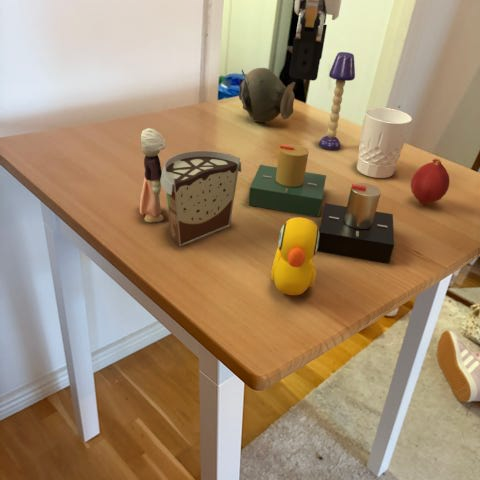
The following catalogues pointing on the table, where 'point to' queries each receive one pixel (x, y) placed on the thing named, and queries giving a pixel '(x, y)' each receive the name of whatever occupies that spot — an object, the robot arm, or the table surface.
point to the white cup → (382, 141)
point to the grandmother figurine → (151, 175)
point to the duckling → (295, 256)
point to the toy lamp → (338, 96)
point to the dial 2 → (362, 205)
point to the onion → (430, 182)
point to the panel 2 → (356, 236)
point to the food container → (199, 193)
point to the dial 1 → (291, 165)
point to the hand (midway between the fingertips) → (305, 67)
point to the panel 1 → (287, 192)
